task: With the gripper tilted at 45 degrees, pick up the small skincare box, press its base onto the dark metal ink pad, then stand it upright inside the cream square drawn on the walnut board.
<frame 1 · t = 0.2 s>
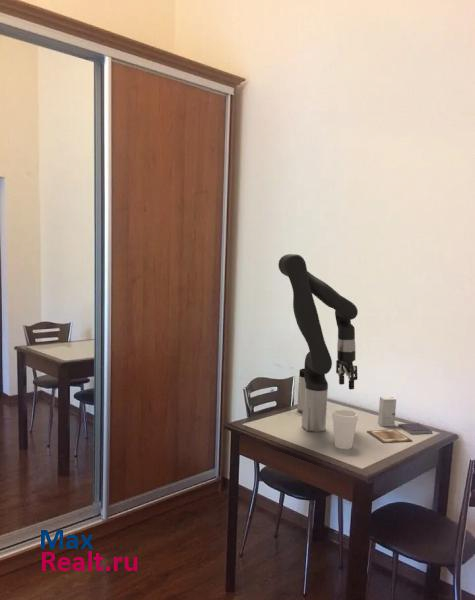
hand: (346, 386, 218), 18 cm above the table, tool pointing down, fingers open, 8 cm apart
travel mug: (304, 411, 241), on the table
foam cup: (343, 446, 197), on the table
marked board: (389, 436, 210), on the table
ink pad: (414, 429, 220), on the table
skincare box: (386, 425, 225), on the table
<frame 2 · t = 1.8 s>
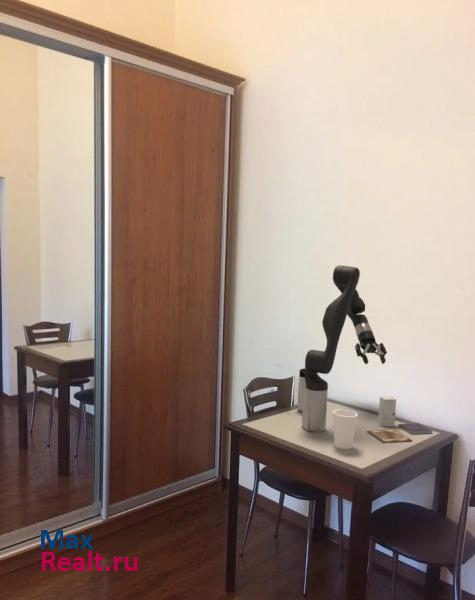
hand: (375, 363, 235), 25 cm above the table, tool tilted 45°, fingers open, 8 cm apart
nothing on the table moved.
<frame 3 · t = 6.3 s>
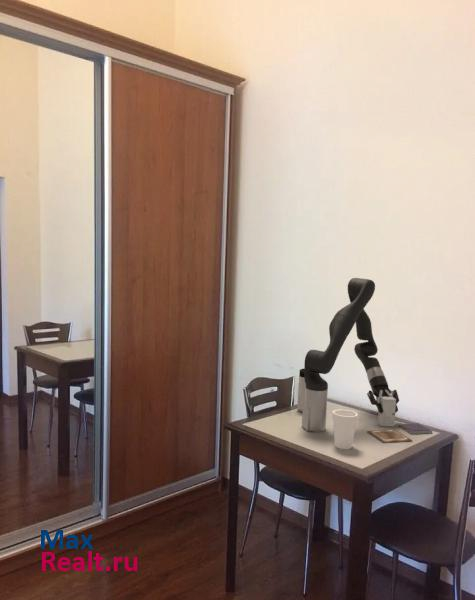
hand: (389, 412, 223), 6 cm above the table, tool tilted 45°, fingers closed on skincare box, 6 cm apart
skincare box: (386, 425, 225), on the table, touching gripper
everything else where it was.
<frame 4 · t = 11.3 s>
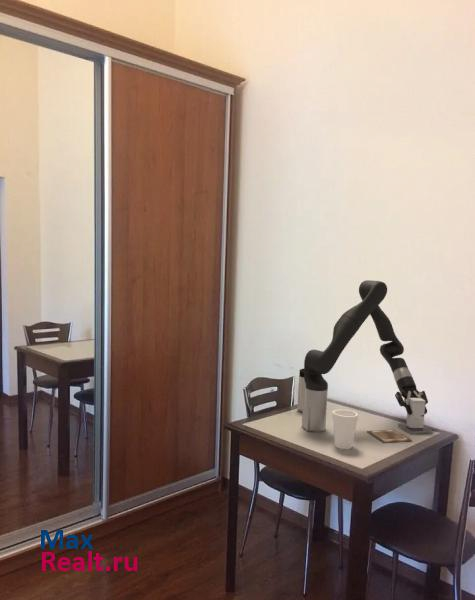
hand: (418, 413, 217), 8 cm above the table, tool tilted 45°, fingers closed on skincare box, 6 cm apart
skincare box: (414, 427, 220), point 1 cm above the table, touching gripper, ink pad
everything else where it was.
when the fingers open (8 cm above the table, at t = 16.3 s): skincare box drops 1 cm, resting on marked board.
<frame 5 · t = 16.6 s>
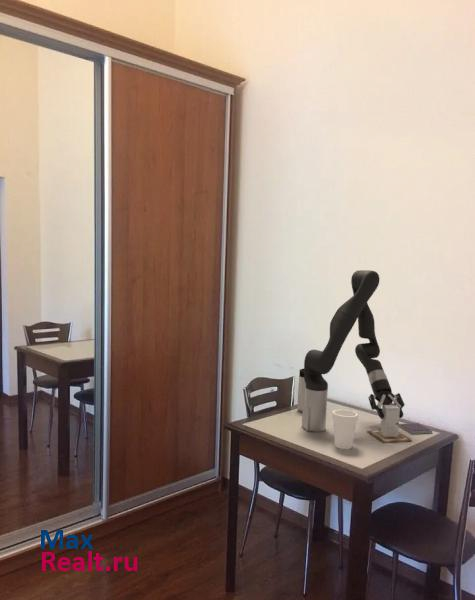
hand: (392, 417, 208), 8 cm above the table, tool tilted 45°, fingers open, 8 cm apart
skincare box: (389, 435, 210), resting on marked board
everything else where it was.
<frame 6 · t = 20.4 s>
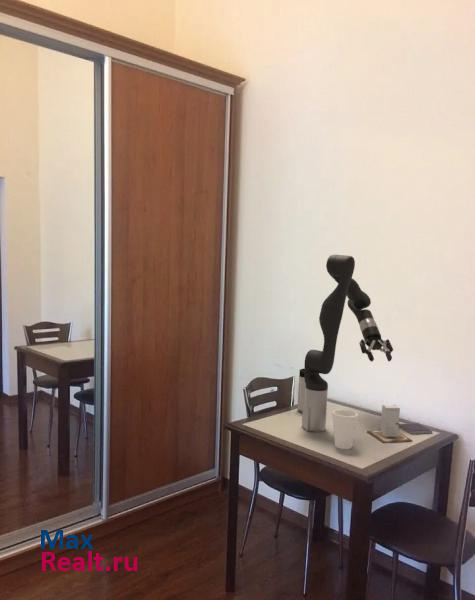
hand: (381, 360, 222), 29 cm above the table, tool tilted 45°, fingers open, 8 cm apart
nothing on the table moved.
at the end: skincare box inside the target area on the marked board (0.4 cm from its centre), point 0.3 cm above the marked board's base; skincare box tilted 0°; the gripper is holding nothing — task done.
